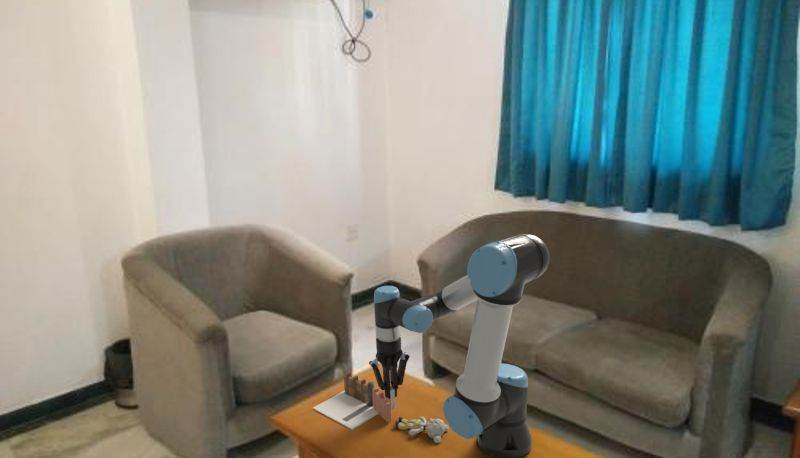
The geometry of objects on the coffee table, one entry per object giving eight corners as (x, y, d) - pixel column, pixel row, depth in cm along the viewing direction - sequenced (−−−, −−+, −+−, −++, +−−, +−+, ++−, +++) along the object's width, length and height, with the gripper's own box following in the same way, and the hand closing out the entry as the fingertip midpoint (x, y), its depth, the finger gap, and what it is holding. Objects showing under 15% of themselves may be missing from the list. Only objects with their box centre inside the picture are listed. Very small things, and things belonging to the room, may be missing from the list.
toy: (402, 406, 180) (448, 412, 174) (404, 423, 182) (450, 429, 175) (390, 421, 173) (437, 428, 166) (392, 438, 174) (439, 446, 167)
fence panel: (372, 406, 186) (371, 386, 184) (376, 405, 187) (375, 385, 185) (387, 422, 178) (386, 401, 176) (391, 421, 178) (390, 400, 176)
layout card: (392, 404, 188) (392, 403, 188) (352, 429, 175) (352, 428, 175) (353, 386, 200) (353, 385, 200) (312, 408, 187) (312, 407, 187)
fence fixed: (376, 405, 188) (375, 383, 186) (371, 407, 187) (371, 385, 185) (348, 391, 197) (347, 370, 195) (343, 394, 195) (342, 372, 193)
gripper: (402, 327, 183) (404, 395, 189) (363, 336, 177) (367, 406, 183) (413, 336, 176) (415, 407, 182) (373, 346, 171) (377, 418, 177)
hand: (391, 406), depth 183 cm, fingers closed
